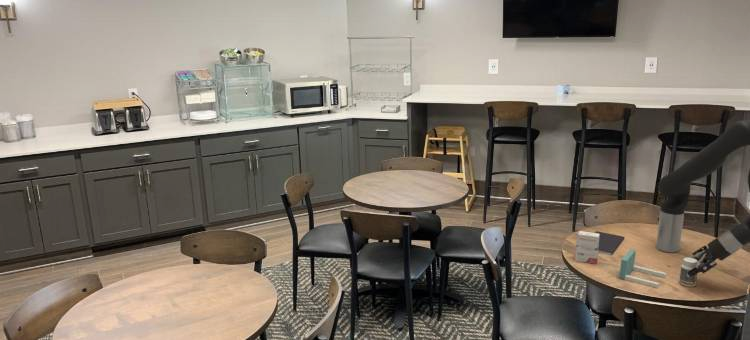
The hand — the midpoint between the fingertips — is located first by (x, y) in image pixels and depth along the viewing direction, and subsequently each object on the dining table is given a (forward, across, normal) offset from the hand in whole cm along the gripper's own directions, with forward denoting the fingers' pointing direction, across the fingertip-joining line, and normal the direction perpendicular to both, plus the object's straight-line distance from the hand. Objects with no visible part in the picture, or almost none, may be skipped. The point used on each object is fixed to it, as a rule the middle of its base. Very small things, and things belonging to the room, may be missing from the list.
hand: (686, 270), depth 226 cm
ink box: (+29, -12, -21) cm, 38 cm away
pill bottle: (+4, 0, +5) cm, 6 cm away
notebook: (+24, -32, -15) cm, 43 cm away
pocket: (+15, -1, -6) cm, 16 cm away
